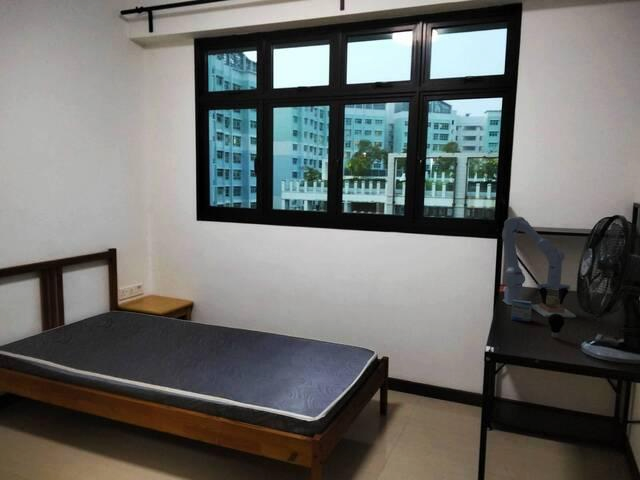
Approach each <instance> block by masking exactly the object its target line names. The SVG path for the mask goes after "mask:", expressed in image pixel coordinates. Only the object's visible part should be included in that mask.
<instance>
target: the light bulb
mask: <svg viewBox="0 0 640 480" xmlns="http://www.w3.org/2000/svg"><path fill="white" fill-rule="evenodd" d="M547 318H548V319H547V322H548V325H549V326H550V331H551V336H552V338H554V339H557V338H559V337H560V336H559V335H560V332H561V329H562V328H563V327H564V325H565V321H566V320H565V317H563V316H561V315H560V314H552V315H550V316H549V317H547Z"/></svg>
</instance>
